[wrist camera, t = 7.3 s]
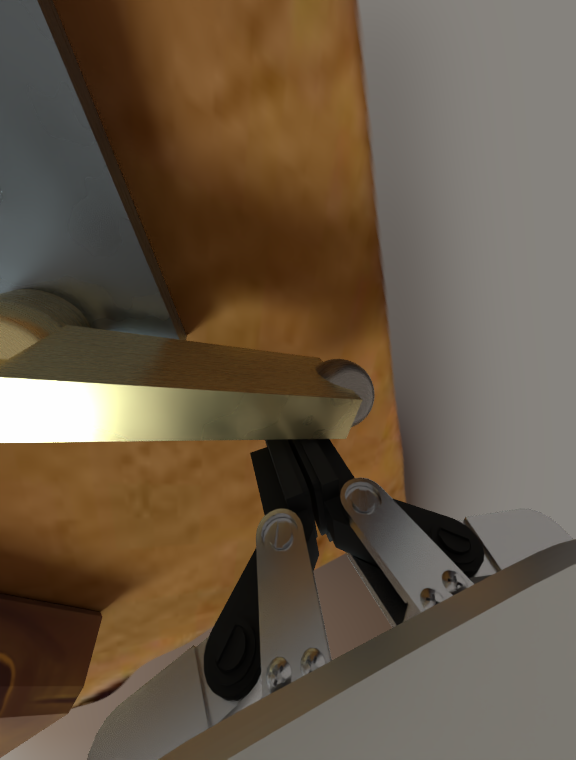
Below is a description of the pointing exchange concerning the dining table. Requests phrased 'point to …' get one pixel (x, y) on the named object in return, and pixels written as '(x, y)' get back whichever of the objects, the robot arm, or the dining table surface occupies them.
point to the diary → (41, 664)
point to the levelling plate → (68, 187)
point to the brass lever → (159, 384)
